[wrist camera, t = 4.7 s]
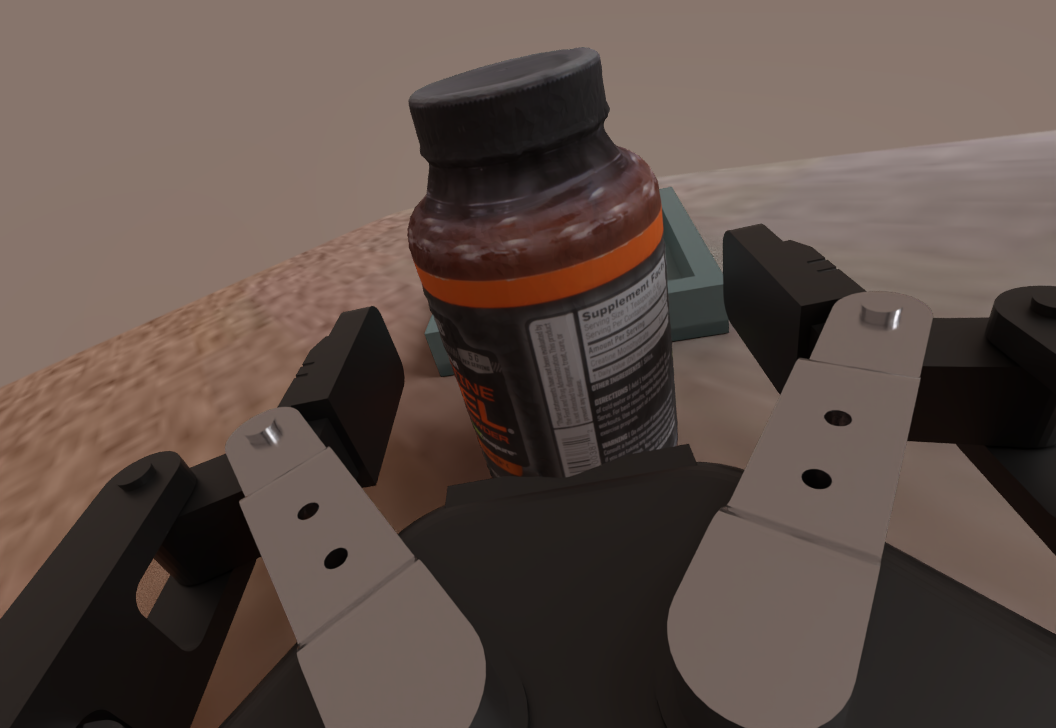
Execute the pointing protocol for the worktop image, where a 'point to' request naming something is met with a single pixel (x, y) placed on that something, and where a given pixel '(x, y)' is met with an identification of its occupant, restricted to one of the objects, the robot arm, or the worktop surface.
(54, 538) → the worktop surface
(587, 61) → the supplement bottle
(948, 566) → the worktop surface
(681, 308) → the tray
